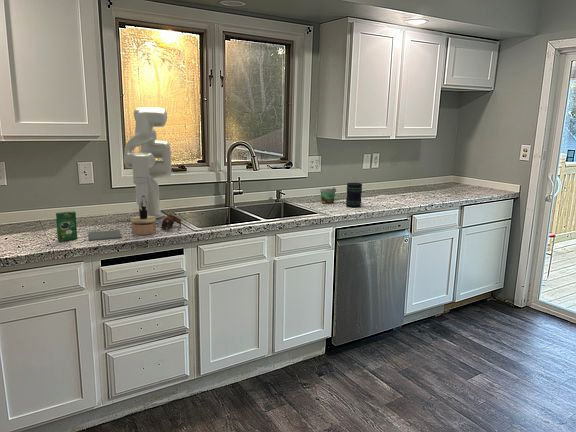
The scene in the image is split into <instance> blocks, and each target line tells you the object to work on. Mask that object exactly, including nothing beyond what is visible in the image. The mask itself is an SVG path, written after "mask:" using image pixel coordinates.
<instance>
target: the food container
mask: <svg viewBox="0 0 576 432" xmlns="http://www.w3.org/2000/svg"><path fill="white" fill-rule="evenodd" d="M319 192H320V199H321V200H320V203H321V204H324V205H333V204H334V203H335V195H336V192H337V188H336V187H333V188H326V189H325V188H320V191H319Z"/></svg>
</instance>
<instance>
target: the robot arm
mask: <svg viewBox="0 0 576 432" xmlns="http://www.w3.org/2000/svg"><path fill="white" fill-rule="evenodd" d="M133 118H134V122H135V129H134V135H133V136H132V137H131V138H130V139H128V141H127V142H126V144H125V147H124V154H123V163H124V166H125V167H127V168H130V169H132V180H133V181H132V184H134V185H135V202H136V204H137V205H139V206H138V211H139V213H138V216H140V218H141V219H144V218H147V216H155V217H156V219H159V218H162V217H163V216H164V214H163V213H162V212H161V207H160V206H161V205H160V186H159V183H158V182H157V181H156V180H155V179H161V178H162V179H163V178H164V179H165V178H170V177H171V176H172V150H171V145H170V143H169V142H168V141H166V140H157V131H156V129H155V128H163V127H165V126H166V123H167V121H168V112H167V110H166V109H165V108H163V107H137V108H134V111H133ZM137 147H140V152H135V151H134V152H132V151H133V150H134V149H136V148H137ZM156 159H162V160H156Z"/></svg>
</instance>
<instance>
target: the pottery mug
mask: <svg viewBox="0 0 576 432" xmlns="http://www.w3.org/2000/svg"><path fill="white" fill-rule="evenodd" d="M175 223H176V224H179V228H181V227H182V219H181V218H179V217H177V216H175V215H172V214H169V213H168V215H166V216H165V217H164V218H163V219H162V221H161V227H160V228H161V229H162V230H165V231H166V230H167V229H168V230H171V229H172V228H173V225H174V224H175Z"/></svg>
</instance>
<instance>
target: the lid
mask: <svg viewBox="0 0 576 432" xmlns="http://www.w3.org/2000/svg"><path fill="white" fill-rule="evenodd" d="M152 222H157V218H156V217H155V216H147V218H144V219H141V218H140V216H139V215H136V216H132V217H130V223H131V224H132V223H137V224H145V223H152Z"/></svg>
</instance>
